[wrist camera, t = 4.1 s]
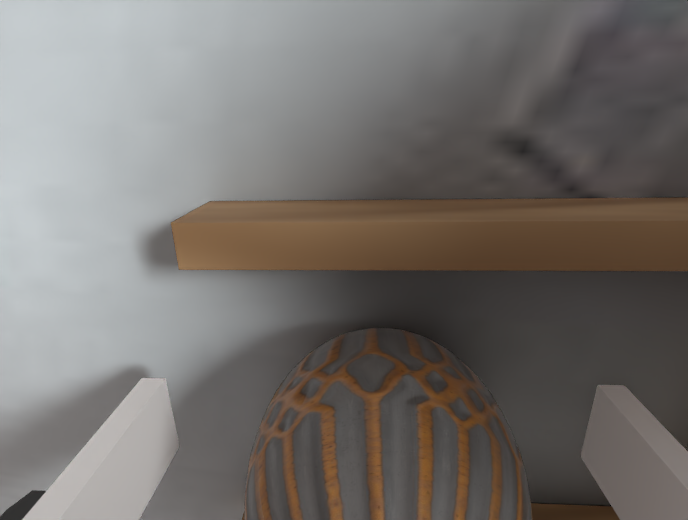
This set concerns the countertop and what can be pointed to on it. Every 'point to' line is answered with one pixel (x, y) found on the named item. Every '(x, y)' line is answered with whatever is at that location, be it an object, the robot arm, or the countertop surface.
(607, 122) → the countertop surface
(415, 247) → the rack
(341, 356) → the vase
